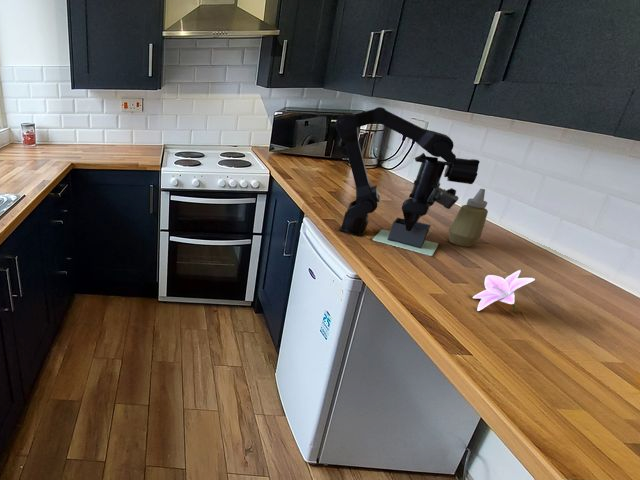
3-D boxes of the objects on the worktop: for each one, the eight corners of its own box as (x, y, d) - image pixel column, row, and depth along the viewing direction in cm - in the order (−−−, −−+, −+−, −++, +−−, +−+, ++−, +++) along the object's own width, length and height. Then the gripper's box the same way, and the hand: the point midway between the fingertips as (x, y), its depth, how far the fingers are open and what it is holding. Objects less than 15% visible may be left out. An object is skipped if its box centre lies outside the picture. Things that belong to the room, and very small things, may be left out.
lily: (482, 294, 101) (473, 262, 98) (548, 298, 91) (540, 263, 88) (467, 324, 95) (458, 291, 92) (537, 332, 85) (528, 295, 83)
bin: (387, 239, 128) (393, 222, 125) (391, 234, 132) (397, 217, 129) (420, 248, 122) (427, 230, 120) (424, 242, 126) (430, 225, 124)
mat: (372, 240, 128) (372, 238, 128) (381, 230, 136) (382, 229, 136) (432, 256, 118) (432, 255, 118) (438, 244, 126) (438, 243, 126)
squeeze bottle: (465, 239, 131) (487, 186, 124) (482, 249, 124) (507, 194, 117) (439, 237, 132) (459, 184, 125) (455, 247, 125) (477, 192, 117)
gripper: (458, 190, 107) (437, 243, 114) (465, 178, 120) (446, 226, 126) (409, 181, 114) (393, 231, 120) (421, 171, 127) (405, 217, 133)
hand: (411, 226), depth 125 cm, fingers open, 9 cm apart
